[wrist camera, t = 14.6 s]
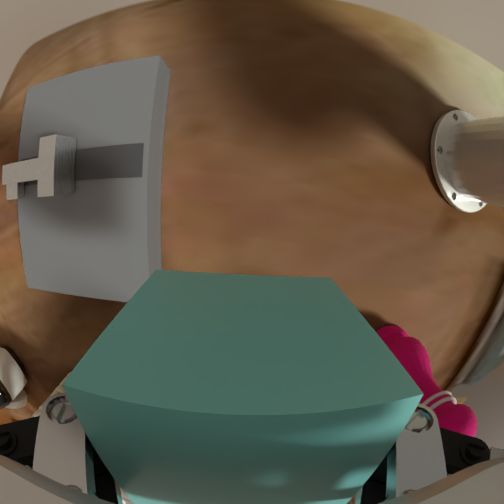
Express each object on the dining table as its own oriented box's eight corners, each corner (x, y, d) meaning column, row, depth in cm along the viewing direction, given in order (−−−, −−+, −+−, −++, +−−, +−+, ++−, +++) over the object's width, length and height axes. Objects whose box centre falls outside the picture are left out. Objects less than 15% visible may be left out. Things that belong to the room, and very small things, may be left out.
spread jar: (13, 341, 29) (-27, 379, 18) (49, 395, 32) (20, 438, 21) (-12, 348, 30) (-45, 379, 18) (19, 395, 33) (-7, 430, 21)
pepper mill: (346, 352, 30) (418, 489, 11) (390, 310, 29) (497, 425, 9) (376, 376, 31) (441, 490, 12) (415, 339, 30) (502, 439, 11)
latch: (76, 137, 19) (56, 134, 16) (74, 194, 20) (53, 197, 17) (13, 151, 18) (-7, 150, 15) (12, 198, 20) (-8, 202, 17)
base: (171, 71, 21) (159, 55, 18) (162, 288, 27) (151, 305, 23) (47, 94, 21) (27, 88, 17) (46, 275, 26) (27, 287, 22)
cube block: (330, 277, 9) (423, 394, 4) (305, 401, 11) (334, 515, 5) (156, 269, 9) (61, 384, 3) (170, 396, 11) (140, 511, 5)
